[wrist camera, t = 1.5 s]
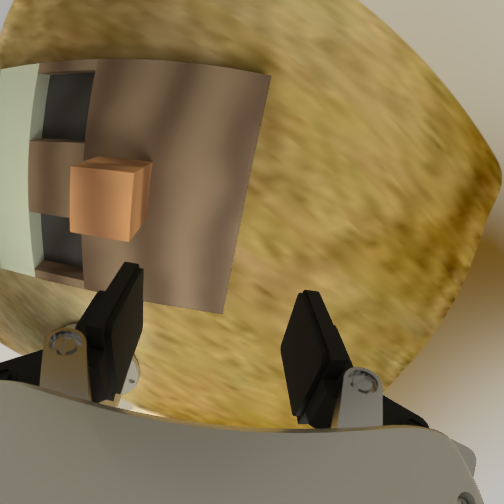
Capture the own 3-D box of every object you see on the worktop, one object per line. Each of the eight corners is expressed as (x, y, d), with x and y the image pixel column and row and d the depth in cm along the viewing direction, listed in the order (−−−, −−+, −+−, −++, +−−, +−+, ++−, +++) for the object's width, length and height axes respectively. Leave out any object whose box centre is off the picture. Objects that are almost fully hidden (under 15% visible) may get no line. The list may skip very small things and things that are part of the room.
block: (152, 162, 23) (134, 173, 19) (146, 219, 25) (129, 242, 21) (98, 156, 23) (70, 166, 18) (95, 211, 25) (70, 231, 20)
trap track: (268, 79, 23) (271, 75, 21) (223, 300, 32) (222, 314, 30) (53, 65, 20) (39, 63, 18) (45, 266, 29) (35, 277, 27)
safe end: (53, 65, 20) (27, 61, 16) (46, 266, 29) (26, 286, 25) (6, 71, 20) (-20, 70, 15) (4, 256, 28) (-16, 273, 24)
